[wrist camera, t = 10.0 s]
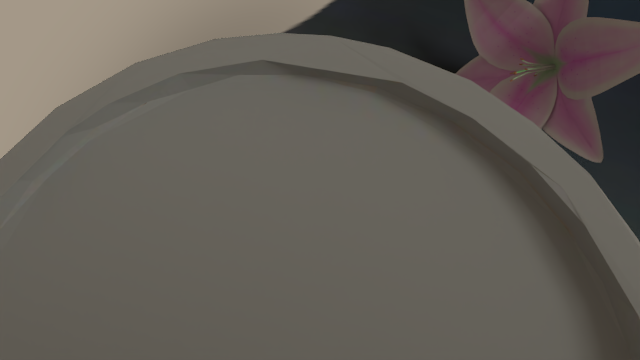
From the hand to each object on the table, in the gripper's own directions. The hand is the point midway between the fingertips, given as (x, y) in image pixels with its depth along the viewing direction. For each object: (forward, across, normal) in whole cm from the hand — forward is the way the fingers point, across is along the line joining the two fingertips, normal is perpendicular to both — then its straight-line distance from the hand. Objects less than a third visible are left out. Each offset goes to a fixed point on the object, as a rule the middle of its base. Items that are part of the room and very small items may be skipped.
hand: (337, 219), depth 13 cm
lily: (+19, +10, -3) cm, 21 cm away
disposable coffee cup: (+1, 0, -5) cm, 5 cm away
